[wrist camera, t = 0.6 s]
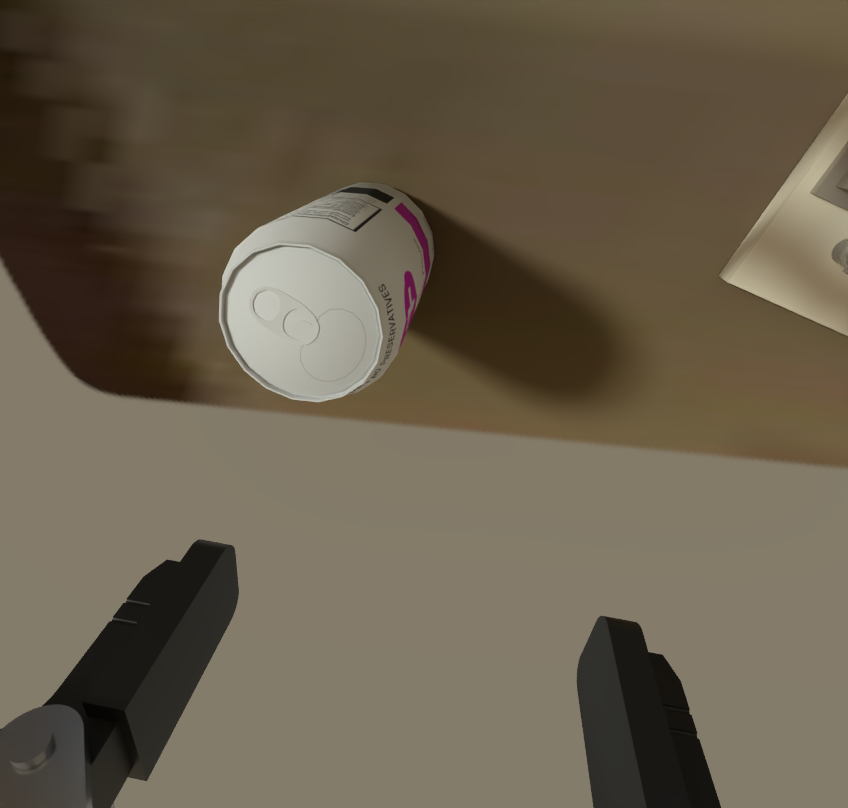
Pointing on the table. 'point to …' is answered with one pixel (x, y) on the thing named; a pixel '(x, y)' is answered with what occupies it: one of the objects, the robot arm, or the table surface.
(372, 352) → the supplement can
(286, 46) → the table surface
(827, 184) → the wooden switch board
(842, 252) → the copper cube on rod
